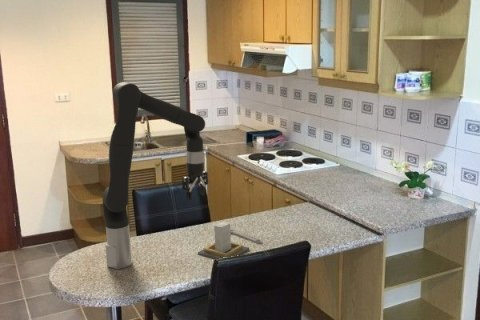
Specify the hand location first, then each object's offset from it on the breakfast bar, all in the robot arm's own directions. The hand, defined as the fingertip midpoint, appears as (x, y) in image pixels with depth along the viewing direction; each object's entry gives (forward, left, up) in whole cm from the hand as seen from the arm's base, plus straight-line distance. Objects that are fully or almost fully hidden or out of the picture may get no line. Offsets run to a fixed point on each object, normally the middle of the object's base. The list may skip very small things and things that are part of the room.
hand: (195, 197), depth 226 cm
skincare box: (+2, -13, -23) cm, 26 cm away
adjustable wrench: (+21, -8, -24) cm, 33 cm away
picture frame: (+2, -13, -24) cm, 27 cm away
